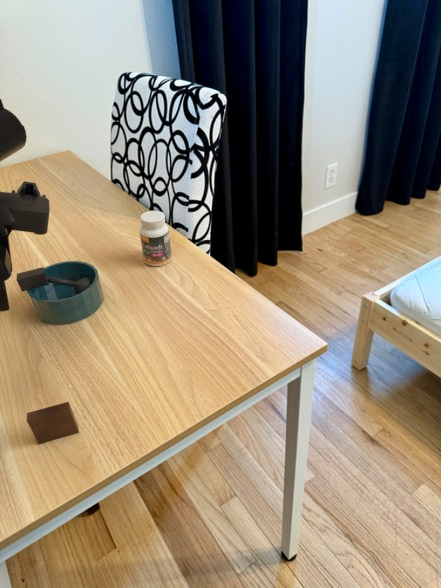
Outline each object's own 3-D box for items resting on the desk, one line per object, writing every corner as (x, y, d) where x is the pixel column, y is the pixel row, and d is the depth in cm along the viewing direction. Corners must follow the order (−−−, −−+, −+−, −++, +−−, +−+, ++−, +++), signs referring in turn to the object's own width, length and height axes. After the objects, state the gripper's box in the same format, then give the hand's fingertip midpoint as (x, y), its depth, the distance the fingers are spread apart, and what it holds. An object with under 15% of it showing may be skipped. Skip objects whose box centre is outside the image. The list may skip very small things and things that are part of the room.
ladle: (96, 287, 79) (85, 254, 75) (98, 298, 77) (86, 264, 72) (33, 304, 77) (16, 271, 73) (32, 316, 75) (16, 282, 70)
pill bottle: (140, 266, 86) (133, 222, 80) (148, 251, 90) (141, 208, 84) (168, 268, 85) (163, 223, 79) (174, 252, 90) (170, 209, 83)
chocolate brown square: (38, 444, 55) (26, 420, 51) (38, 436, 55) (26, 412, 52) (78, 432, 56) (69, 408, 53) (78, 425, 57) (68, 401, 54)
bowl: (34, 331, 71) (25, 308, 68) (35, 290, 80) (27, 268, 77) (107, 315, 74) (101, 292, 71) (99, 277, 83) (94, 255, 80)
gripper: (34, 204, 44) (71, 318, 54) (35, 147, 58) (64, 245, 68) (-86, 224, 42) (-25, 340, 51) (-55, 159, 56) (-12, 259, 65)
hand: (7, 290), depth 59 cm, fingers open, 9 cm apart
